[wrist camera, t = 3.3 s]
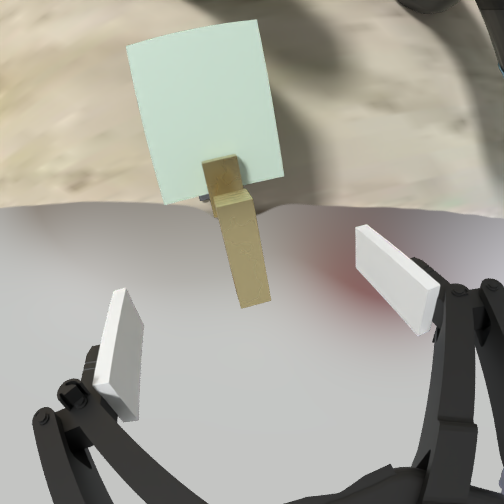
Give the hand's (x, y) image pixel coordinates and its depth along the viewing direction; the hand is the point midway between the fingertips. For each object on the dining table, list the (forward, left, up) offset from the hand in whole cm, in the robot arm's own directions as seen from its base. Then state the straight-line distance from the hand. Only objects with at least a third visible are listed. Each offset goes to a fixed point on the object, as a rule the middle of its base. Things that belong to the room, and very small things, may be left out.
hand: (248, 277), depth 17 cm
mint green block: (-9, 0, -16) cm, 18 cm away
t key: (-1, 0, -21) cm, 21 cm away
